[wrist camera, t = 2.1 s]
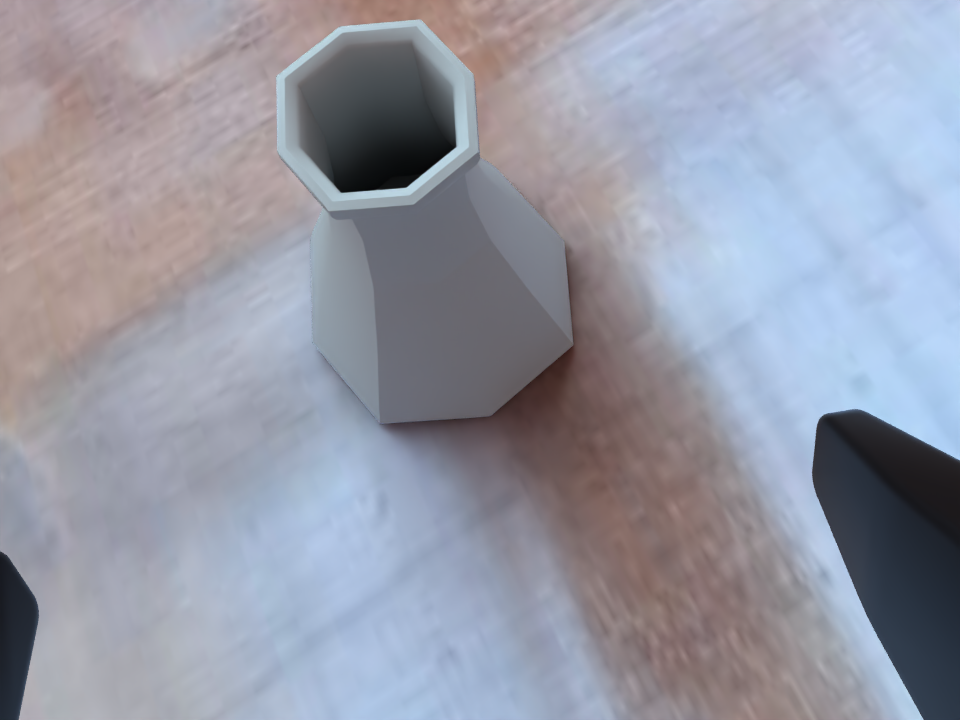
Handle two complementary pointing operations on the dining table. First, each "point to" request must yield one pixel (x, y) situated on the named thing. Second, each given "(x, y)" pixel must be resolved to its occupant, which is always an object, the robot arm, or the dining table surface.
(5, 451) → the dining table surface
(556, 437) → the dining table surface
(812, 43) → the dining table surface
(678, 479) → the dining table surface
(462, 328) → the grey faceted vase
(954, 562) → the robot arm
